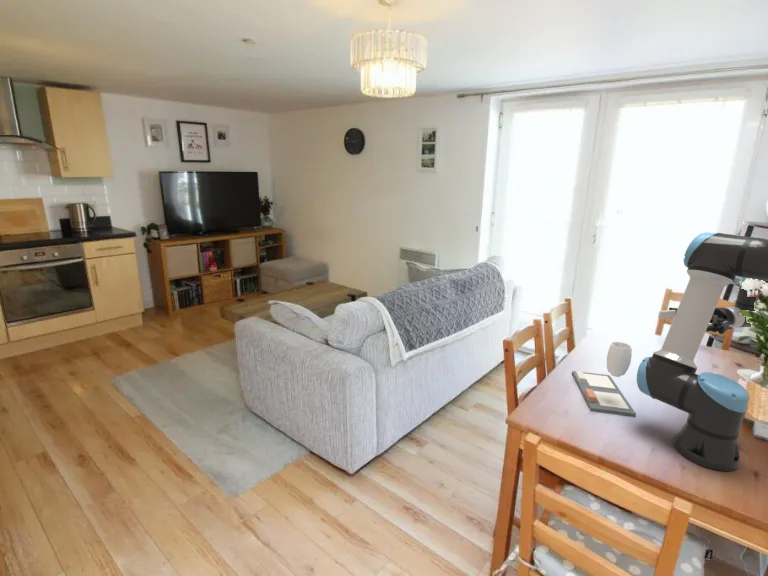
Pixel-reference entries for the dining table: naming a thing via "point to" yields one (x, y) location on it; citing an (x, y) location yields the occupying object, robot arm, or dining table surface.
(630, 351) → the cup
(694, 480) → the dining table surface
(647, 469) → the dining table surface
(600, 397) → the coaster board
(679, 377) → the robot arm
